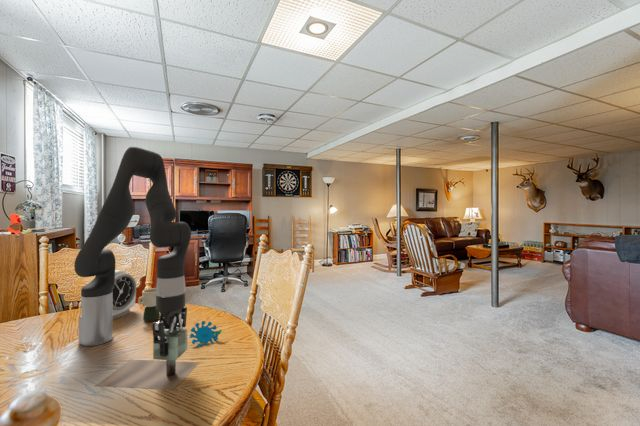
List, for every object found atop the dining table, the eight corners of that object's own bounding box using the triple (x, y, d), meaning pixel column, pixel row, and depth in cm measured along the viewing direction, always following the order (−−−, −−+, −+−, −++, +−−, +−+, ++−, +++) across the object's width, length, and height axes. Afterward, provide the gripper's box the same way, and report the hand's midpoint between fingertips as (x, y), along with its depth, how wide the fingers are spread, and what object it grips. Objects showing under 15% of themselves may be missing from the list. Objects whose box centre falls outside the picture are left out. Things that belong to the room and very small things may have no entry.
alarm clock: (105, 324, 126) (105, 275, 126) (88, 322, 128) (87, 275, 127) (138, 310, 144) (138, 267, 143) (123, 308, 145) (122, 266, 145)
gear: (191, 348, 102) (189, 320, 108) (186, 356, 105) (185, 328, 111) (224, 344, 108) (220, 318, 115) (218, 352, 111) (215, 326, 118)
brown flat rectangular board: (95, 390, 81) (95, 385, 81) (131, 363, 95) (131, 359, 95) (174, 394, 80) (174, 389, 80) (199, 366, 94) (199, 362, 94)
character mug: (160, 314, 138) (160, 286, 138) (168, 318, 134) (168, 288, 133) (134, 322, 129) (134, 291, 129) (142, 326, 125) (142, 294, 125)
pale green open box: (153, 359, 84) (153, 337, 84) (166, 348, 90) (166, 328, 90) (175, 360, 84) (175, 338, 84) (187, 349, 90) (187, 329, 90)
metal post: (164, 376, 86) (164, 347, 86) (169, 371, 88) (169, 343, 88) (172, 376, 86) (172, 348, 86) (177, 372, 88) (177, 344, 88)
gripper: (172, 285, 94) (172, 338, 94) (141, 299, 80) (141, 362, 80) (195, 285, 94) (195, 339, 94) (169, 299, 79) (169, 363, 80)
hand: (170, 349), depth 87 cm, fingers closed on pale green open box, 6 cm apart
